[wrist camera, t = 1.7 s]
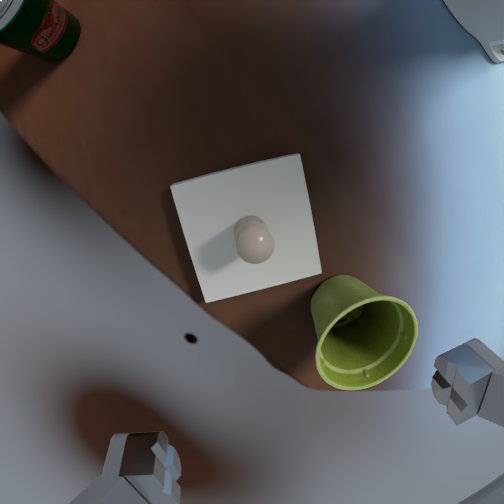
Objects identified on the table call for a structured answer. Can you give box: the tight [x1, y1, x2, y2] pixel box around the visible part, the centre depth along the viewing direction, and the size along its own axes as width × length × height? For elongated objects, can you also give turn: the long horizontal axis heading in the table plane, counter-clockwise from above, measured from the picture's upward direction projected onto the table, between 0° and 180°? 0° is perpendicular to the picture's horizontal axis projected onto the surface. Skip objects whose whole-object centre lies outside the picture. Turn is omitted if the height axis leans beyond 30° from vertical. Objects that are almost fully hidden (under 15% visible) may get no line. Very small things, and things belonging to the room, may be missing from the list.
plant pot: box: [310, 275, 418, 390], centre depth 29 cm, size 9×9×9 cm
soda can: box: [0, 0, 81, 62], centre depth 16 cm, size 5×5×12 cm
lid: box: [170, 154, 322, 303], centre depth 26 cm, size 11×11×5 cm
